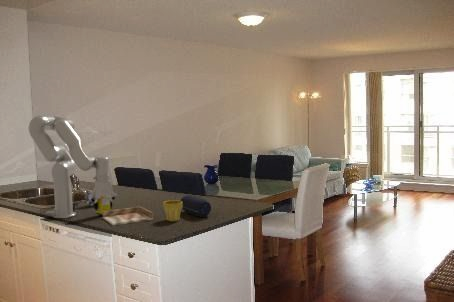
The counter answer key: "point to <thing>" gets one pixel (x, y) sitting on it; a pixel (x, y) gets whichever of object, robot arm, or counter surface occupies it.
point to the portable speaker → (196, 205)
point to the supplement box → (103, 205)
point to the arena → (127, 215)
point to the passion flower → (89, 199)
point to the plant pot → (173, 209)
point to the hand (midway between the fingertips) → (103, 208)
